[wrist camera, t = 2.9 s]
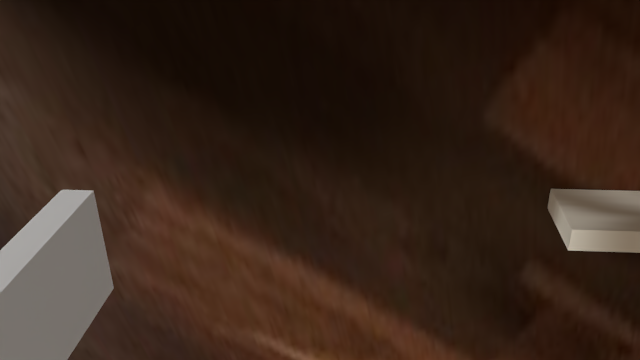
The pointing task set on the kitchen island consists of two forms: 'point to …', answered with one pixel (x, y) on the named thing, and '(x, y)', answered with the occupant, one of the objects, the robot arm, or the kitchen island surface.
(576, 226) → the channel
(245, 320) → the kitchen island surface
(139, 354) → the kitchen island surface
